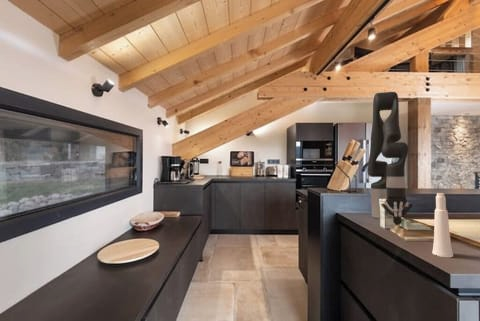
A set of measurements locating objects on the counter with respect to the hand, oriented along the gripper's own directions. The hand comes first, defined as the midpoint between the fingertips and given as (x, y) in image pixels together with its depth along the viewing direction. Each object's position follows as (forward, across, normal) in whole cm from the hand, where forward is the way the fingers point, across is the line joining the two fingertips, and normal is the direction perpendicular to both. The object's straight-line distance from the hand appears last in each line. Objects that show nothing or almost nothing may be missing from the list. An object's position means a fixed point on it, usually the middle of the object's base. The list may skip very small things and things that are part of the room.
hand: (397, 224), depth 118 cm
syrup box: (+5, -1, -14) cm, 15 cm away
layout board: (+5, -9, 0) cm, 10 cm away
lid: (+1, -7, 0) cm, 7 cm away
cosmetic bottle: (+5, -6, +24) cm, 25 cm away
